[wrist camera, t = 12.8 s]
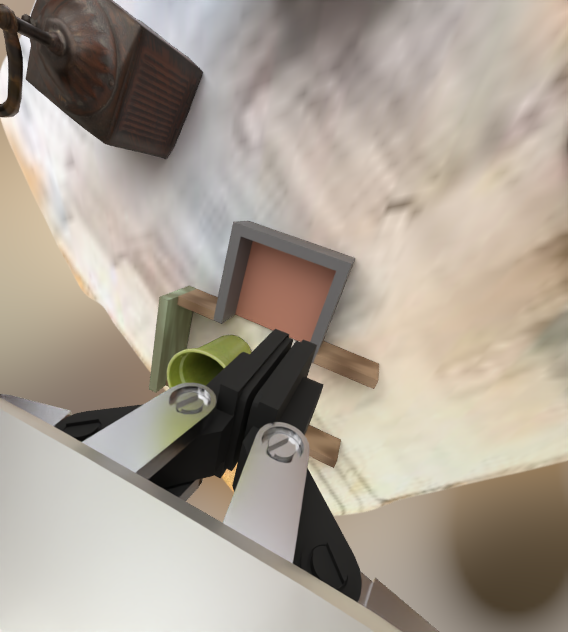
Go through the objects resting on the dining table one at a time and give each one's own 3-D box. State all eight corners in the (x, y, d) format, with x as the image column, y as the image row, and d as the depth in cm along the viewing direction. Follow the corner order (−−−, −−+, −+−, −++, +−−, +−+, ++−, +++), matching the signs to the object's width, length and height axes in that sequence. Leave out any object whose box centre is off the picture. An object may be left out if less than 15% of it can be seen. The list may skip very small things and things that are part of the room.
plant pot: (275, 347, 40) (249, 380, 32) (248, 394, 44) (218, 433, 36) (218, 310, 41) (179, 334, 33) (197, 360, 45) (158, 391, 37)
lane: (378, 363, 36) (378, 390, 31) (338, 445, 42) (331, 480, 36) (189, 285, 41) (159, 296, 35) (176, 368, 47) (148, 389, 41)
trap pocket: (355, 258, 33) (351, 263, 29) (320, 348, 38) (313, 362, 34) (248, 220, 35) (233, 221, 32) (228, 310, 40) (213, 320, 37)
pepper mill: (128, 10, 32) (-132, -196, 16) (206, 71, 32) (19, -77, 15) (90, 147, 39) (-119, 100, 23) (153, 198, 38) (-14, 188, 22)
